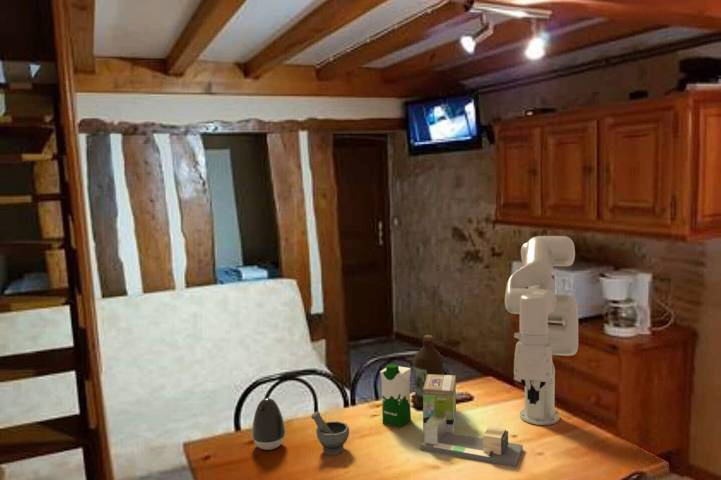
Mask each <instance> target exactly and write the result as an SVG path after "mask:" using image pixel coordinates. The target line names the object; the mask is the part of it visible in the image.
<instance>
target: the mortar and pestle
mask: <svg viewBox="0 0 721 480" xmlns="http://www.w3.org/2000/svg"><path fill="white" fill-rule="evenodd" d="M310 417H311V419H312V420H314V423H315V424H316V431H315V432H316V437H317V439H318V440H319V443H320V445H321V446H322V451H323V452H324V454H327V455H338V454H341V453H342V452H344V450H345V448H344V445H345V444H346V442H347V440H348V439H349V437H350V436H349V435H350V426H349V425H348V423H345V422H342V421H337V420H335V421H334V420H333V421H325V420H324V419H323V417H322V416H321V413H320V412H319V411H315V412H313V413H312V415H311V416H310Z"/></svg>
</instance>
